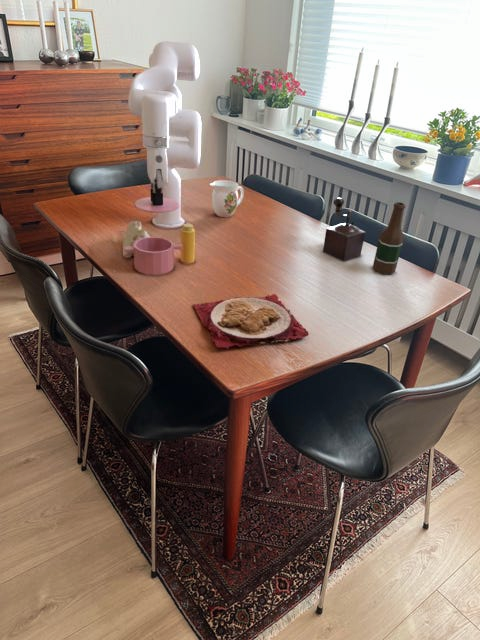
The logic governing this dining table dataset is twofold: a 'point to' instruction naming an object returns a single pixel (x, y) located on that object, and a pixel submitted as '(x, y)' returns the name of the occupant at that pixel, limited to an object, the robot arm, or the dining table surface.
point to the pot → (153, 255)
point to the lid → (147, 205)
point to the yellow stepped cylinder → (187, 243)
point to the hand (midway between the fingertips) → (156, 202)
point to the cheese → (133, 236)
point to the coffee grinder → (343, 237)
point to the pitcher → (226, 197)
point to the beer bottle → (390, 243)
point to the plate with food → (249, 321)
